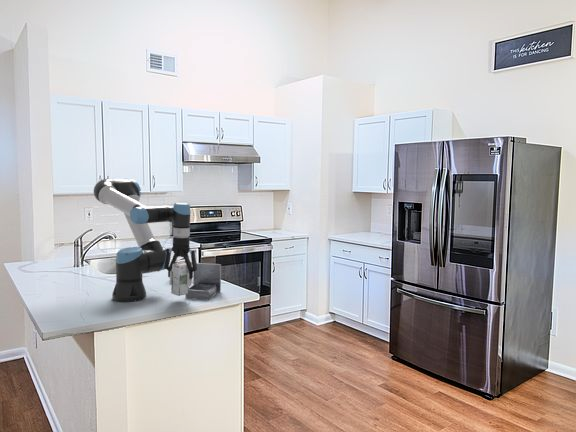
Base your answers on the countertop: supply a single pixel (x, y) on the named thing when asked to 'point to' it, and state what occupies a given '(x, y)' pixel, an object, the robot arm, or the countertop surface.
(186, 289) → the syrup box
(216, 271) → the bracket
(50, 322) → the countertop surface
